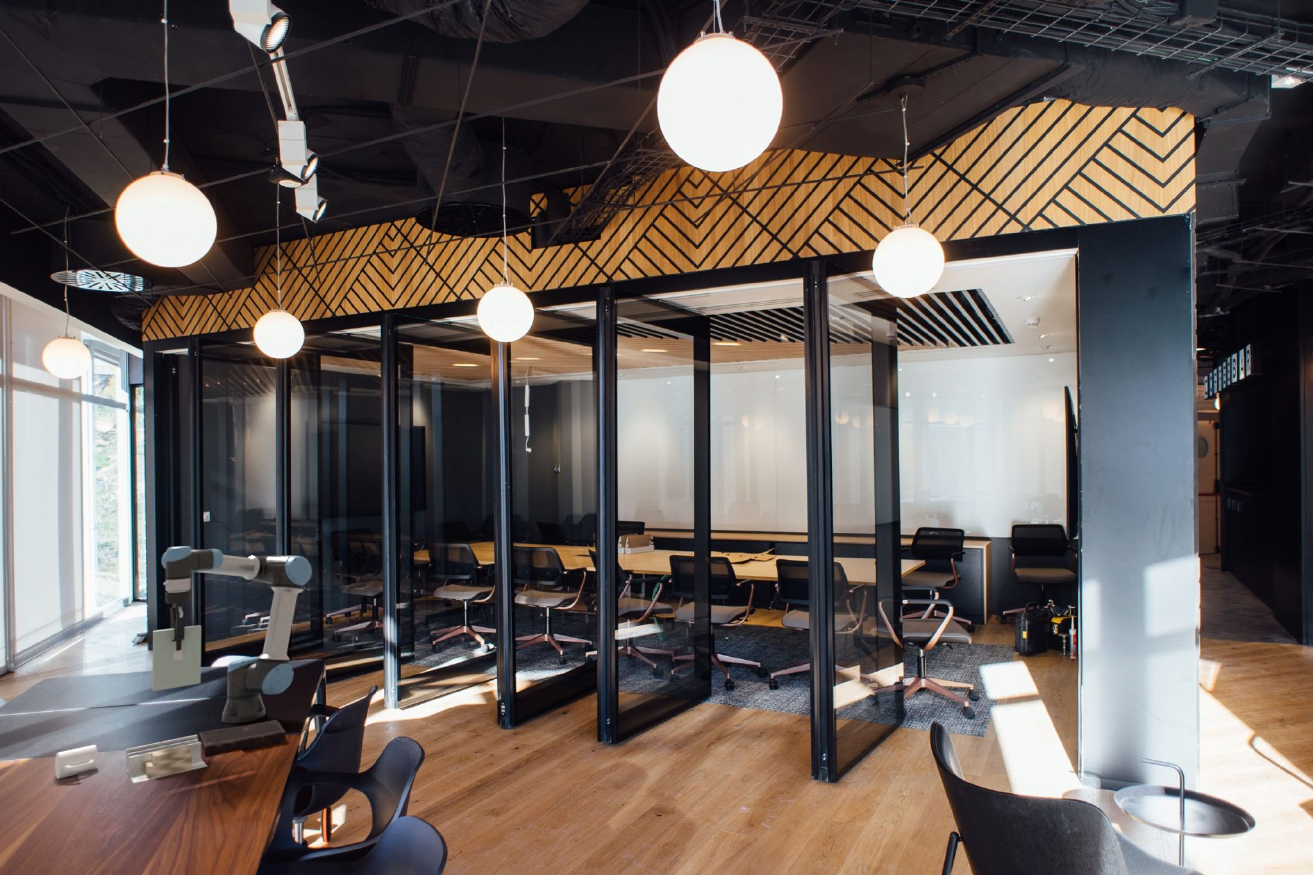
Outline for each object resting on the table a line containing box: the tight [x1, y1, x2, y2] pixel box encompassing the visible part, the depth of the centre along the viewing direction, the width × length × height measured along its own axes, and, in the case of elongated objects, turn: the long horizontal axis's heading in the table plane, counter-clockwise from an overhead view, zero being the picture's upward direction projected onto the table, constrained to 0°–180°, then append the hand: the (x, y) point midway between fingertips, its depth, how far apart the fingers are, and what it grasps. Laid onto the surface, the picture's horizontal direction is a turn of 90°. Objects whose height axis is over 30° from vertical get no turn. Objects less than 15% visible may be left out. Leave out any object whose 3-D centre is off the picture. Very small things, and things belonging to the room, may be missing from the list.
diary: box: [198, 719, 286, 757], centre depth 270 cm, size 19×25×5 cm
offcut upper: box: [151, 745, 190, 766], centre depth 244 cm, size 10×5×3 cm, turn 131°
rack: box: [125, 734, 208, 784], centre depth 246 cm, size 20×18×7 cm
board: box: [151, 624, 202, 692], centre depth 263 cm, size 14×2×20 cm, turn 131°
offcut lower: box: [145, 756, 192, 777], centre depth 244 cm, size 12×5×3 cm, turn 131°
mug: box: [54, 744, 99, 780], centre depth 244 cm, size 12×10×8 cm
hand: (177, 658), depth 263 cm, fingers closed on board, 2 cm apart
